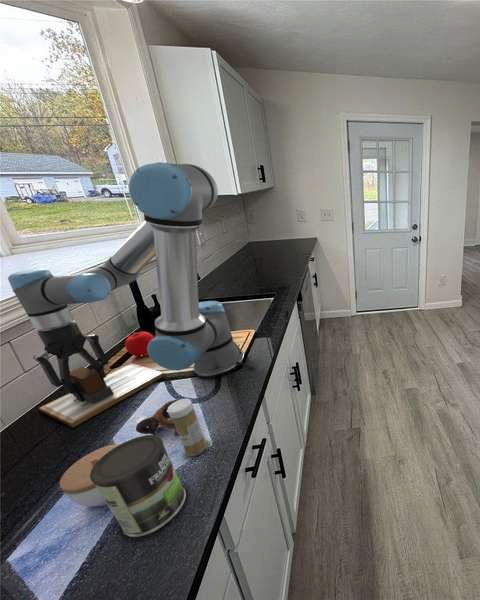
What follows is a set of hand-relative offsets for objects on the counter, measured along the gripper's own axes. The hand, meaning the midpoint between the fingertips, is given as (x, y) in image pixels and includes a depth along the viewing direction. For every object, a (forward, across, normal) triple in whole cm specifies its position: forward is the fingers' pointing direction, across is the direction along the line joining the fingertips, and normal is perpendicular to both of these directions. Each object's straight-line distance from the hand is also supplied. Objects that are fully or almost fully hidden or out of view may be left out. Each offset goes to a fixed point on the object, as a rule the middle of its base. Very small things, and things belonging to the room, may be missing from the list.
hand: (93, 393), depth 94 cm
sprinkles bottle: (+2, +2, +49) cm, 49 cm away
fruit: (+2, -22, -14) cm, 26 cm away
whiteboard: (+2, -3, 0) cm, 4 cm away
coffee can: (+2, +15, +55) cm, 57 cm away
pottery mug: (+2, 0, +36) cm, 36 cm away
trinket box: (+2, +16, +42) cm, 45 cm away
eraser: (0, 0, 0) cm, 0 cm away
